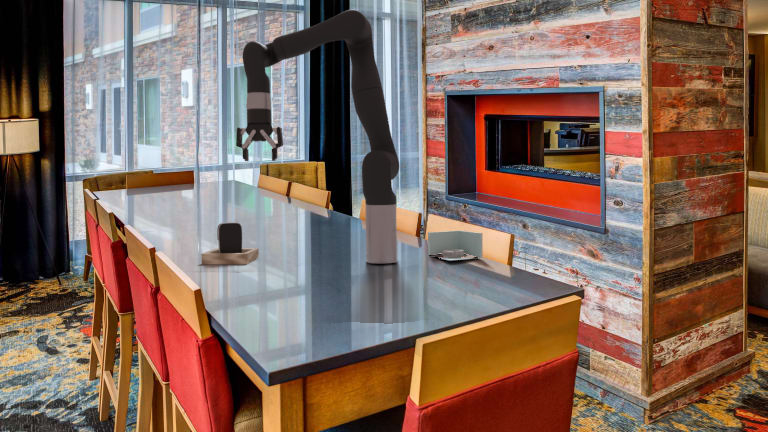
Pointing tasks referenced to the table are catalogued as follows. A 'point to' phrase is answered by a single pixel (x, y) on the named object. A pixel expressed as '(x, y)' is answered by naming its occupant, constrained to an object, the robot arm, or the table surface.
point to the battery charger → (229, 237)
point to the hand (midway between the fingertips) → (260, 160)
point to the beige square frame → (229, 257)
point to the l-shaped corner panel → (455, 244)
